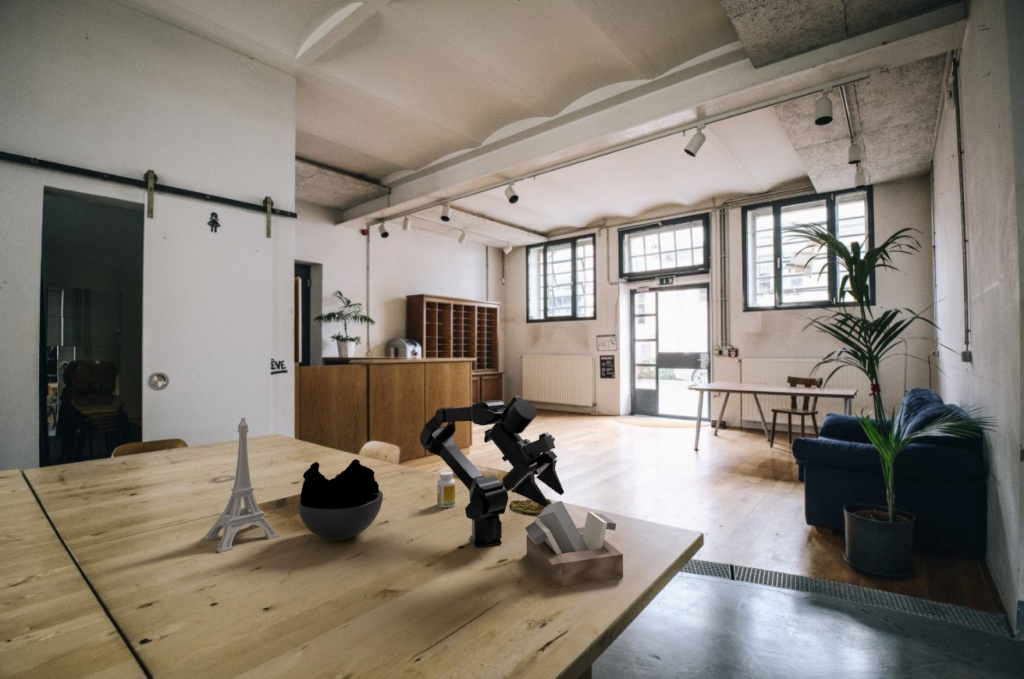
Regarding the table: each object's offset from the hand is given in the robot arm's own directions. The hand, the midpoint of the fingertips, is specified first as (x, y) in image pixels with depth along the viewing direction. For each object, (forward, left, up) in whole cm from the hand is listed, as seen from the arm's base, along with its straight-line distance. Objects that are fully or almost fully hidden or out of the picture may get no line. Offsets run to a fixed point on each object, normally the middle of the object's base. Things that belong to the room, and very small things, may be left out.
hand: (555, 499), depth 105 cm
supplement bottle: (-17, +45, -14) cm, 50 cm away
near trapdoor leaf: (-5, -3, -10) cm, 11 cm away
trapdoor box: (+3, -3, -13) cm, 14 cm away
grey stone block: (+4, -3, -12) cm, 13 cm away
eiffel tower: (-70, +36, -14) cm, 80 cm away
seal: (+6, +34, -14) cm, 37 cm away
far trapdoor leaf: (+11, -3, -9) cm, 14 cm away
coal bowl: (-46, +28, -14) cm, 56 cm away
